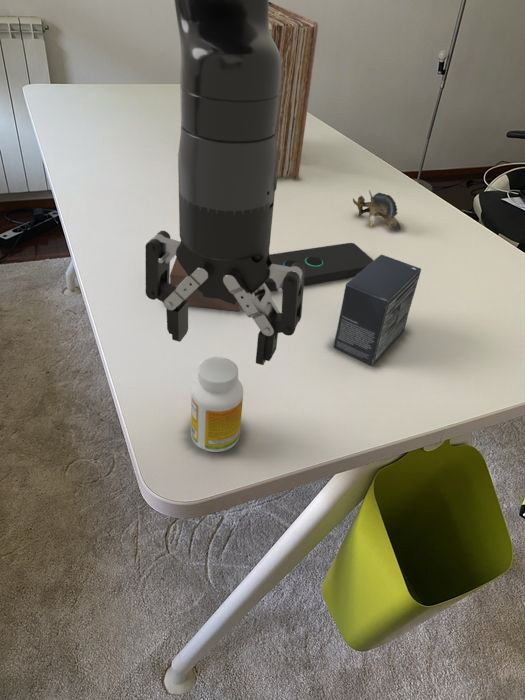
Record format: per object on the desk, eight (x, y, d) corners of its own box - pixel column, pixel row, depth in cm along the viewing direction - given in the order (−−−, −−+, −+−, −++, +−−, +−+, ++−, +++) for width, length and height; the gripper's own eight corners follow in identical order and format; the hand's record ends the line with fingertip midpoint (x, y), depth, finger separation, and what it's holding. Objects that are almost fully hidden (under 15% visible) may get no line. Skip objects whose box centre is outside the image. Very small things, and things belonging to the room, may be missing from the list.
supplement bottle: (249, 431, 62) (255, 365, 56) (221, 461, 58) (225, 395, 52) (210, 410, 64) (212, 345, 58) (180, 438, 60) (180, 371, 54)
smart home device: (248, 256, 89) (352, 241, 96) (247, 265, 90) (350, 249, 97) (269, 282, 83) (379, 264, 91) (268, 292, 84) (376, 273, 92)
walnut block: (170, 304, 80) (169, 274, 77) (182, 269, 88) (182, 241, 84) (239, 311, 80) (241, 282, 77) (244, 275, 88) (247, 247, 84)
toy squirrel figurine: (347, 220, 104) (393, 225, 100) (355, 182, 104) (402, 186, 100) (359, 229, 111) (403, 234, 107) (367, 193, 110) (411, 198, 106)
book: (298, 180, 121) (319, 23, 102) (259, 182, 118) (273, 21, 99) (258, 140, 139) (269, 1, 120) (223, 142, 136) (229, -1, 117)
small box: (365, 313, 82) (380, 251, 76) (405, 331, 79) (424, 268, 73) (330, 347, 75) (343, 281, 69) (372, 367, 72) (391, 301, 66)
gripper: (121, 185, 42) (135, 351, 52) (301, 225, 39) (279, 392, 49) (165, 154, 47) (171, 309, 57) (326, 187, 44) (301, 344, 54)
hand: (221, 347), depth 53 cm, fingers open, 8 cm apart
